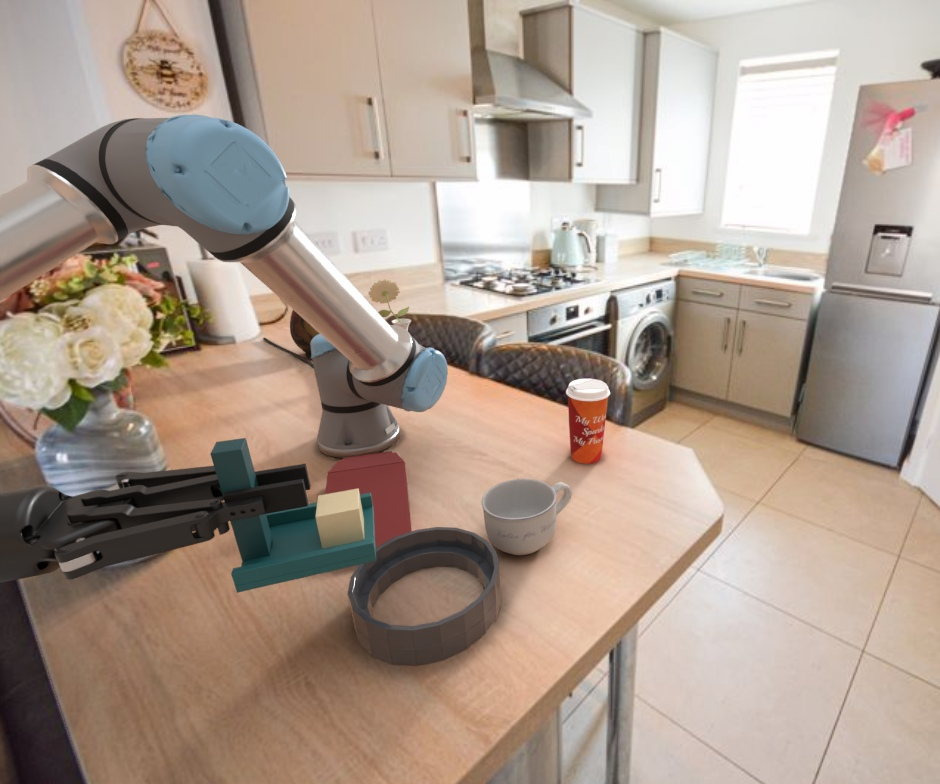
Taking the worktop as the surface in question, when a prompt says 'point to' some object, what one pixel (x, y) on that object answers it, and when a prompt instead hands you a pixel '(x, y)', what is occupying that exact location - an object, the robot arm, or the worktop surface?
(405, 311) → the flower in vase
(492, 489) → the teacup
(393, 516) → the red flat panel
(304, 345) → the ceramic jug
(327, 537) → the cream block
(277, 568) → the teal post tray
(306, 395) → the worktop surface
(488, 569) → the dark grey ring
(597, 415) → the coffee cup
